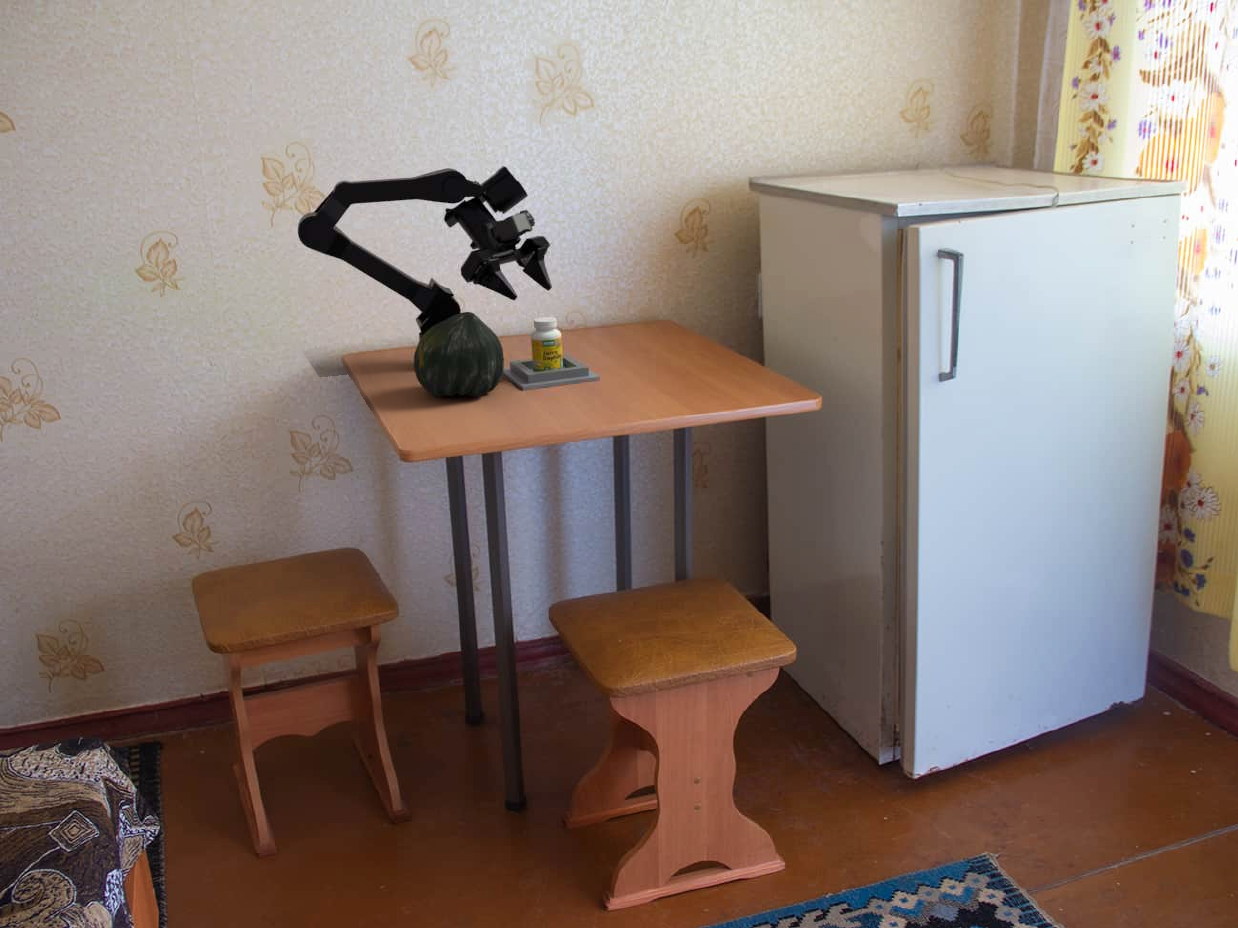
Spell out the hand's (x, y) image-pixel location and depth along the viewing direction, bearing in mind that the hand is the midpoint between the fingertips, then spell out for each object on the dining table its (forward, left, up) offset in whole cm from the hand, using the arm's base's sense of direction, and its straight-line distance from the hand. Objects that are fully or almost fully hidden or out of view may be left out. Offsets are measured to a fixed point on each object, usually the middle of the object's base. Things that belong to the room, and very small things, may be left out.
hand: (533, 293), depth 207 cm
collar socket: (+6, 0, -14) cm, 15 cm away
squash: (+9, -16, -14) cm, 24 cm away
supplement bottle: (+5, 0, -13) cm, 15 cm away
